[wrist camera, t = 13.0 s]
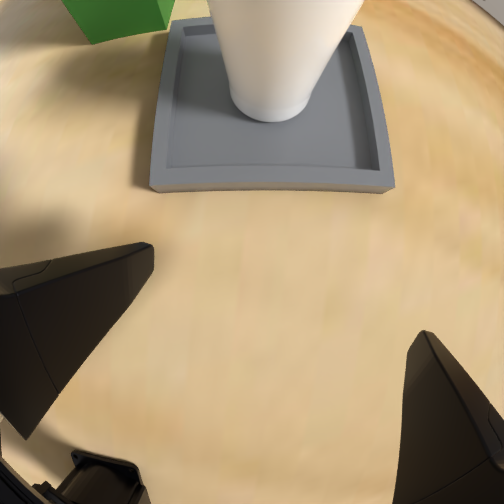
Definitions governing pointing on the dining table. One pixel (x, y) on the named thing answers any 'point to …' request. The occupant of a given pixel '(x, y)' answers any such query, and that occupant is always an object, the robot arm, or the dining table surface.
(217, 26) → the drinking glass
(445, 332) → the dining table surface
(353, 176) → the serving tray
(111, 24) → the hardback book
